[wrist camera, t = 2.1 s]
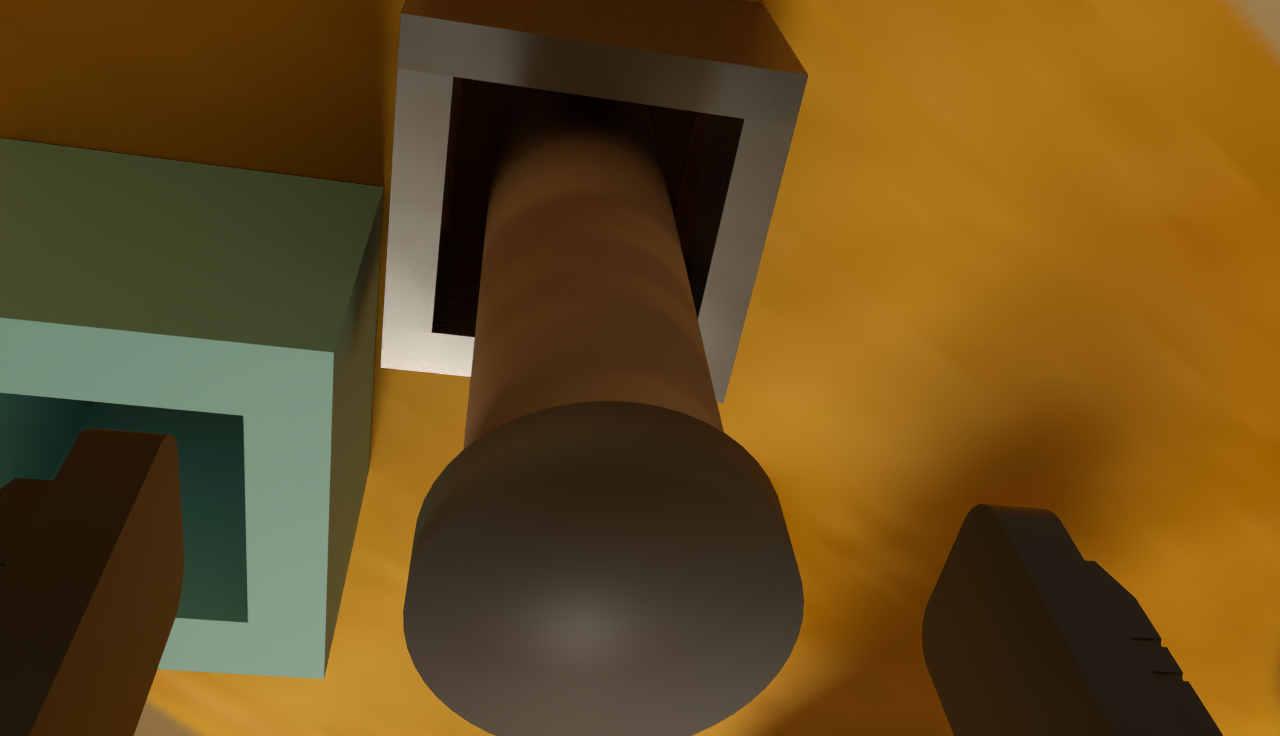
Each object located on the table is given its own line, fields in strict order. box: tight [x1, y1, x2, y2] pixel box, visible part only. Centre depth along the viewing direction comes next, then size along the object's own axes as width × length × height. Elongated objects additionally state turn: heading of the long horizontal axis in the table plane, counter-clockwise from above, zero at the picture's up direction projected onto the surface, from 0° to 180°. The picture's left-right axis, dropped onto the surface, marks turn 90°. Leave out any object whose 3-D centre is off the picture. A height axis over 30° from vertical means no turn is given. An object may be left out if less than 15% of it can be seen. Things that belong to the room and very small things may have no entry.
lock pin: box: [403, 86, 804, 736], centre depth 16 cm, size 4×4×12 cm
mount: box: [381, 0, 808, 403], centre depth 19 cm, size 6×6×4 cm
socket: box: [0, 138, 384, 679], centre depth 20 cm, size 7×7×6 cm
